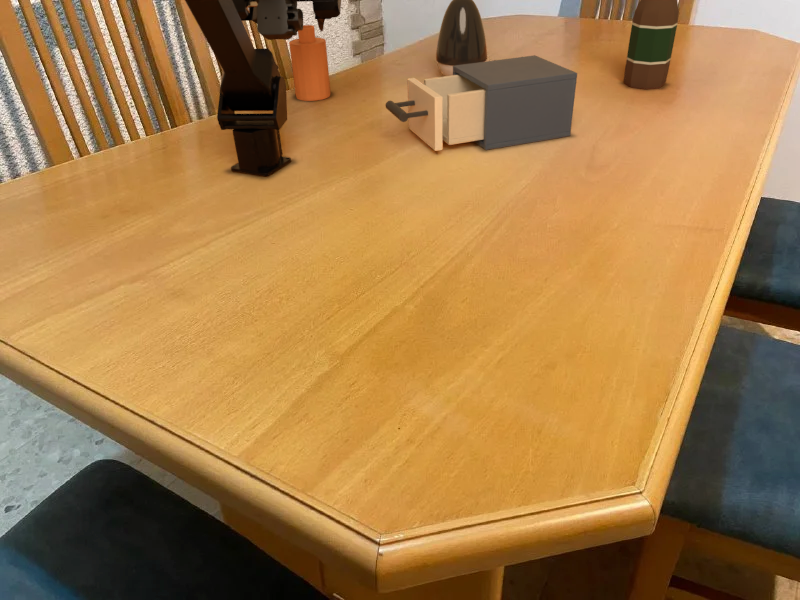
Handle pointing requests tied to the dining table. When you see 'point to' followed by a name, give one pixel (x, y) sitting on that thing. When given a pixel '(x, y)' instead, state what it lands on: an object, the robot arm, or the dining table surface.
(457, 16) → the dark brown rounded piece
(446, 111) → the drawer
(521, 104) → the cabinet
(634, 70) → the beer bottle
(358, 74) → the dining table surface
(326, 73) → the detergent bottle
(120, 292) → the dining table surface
